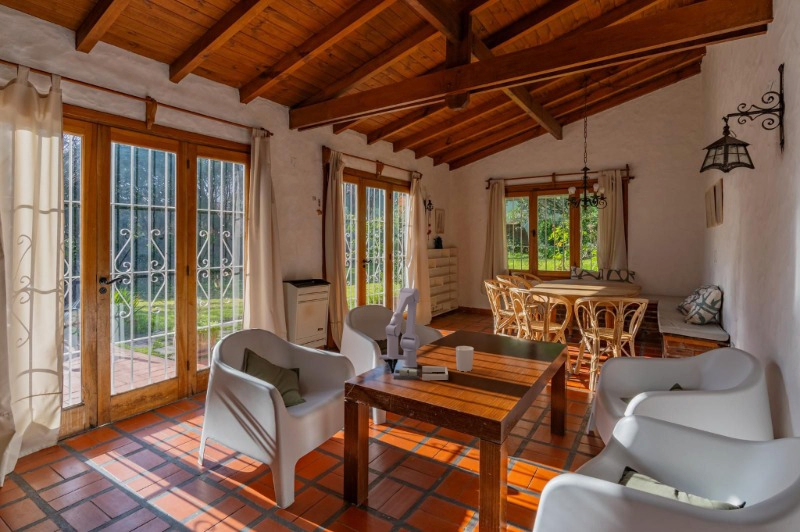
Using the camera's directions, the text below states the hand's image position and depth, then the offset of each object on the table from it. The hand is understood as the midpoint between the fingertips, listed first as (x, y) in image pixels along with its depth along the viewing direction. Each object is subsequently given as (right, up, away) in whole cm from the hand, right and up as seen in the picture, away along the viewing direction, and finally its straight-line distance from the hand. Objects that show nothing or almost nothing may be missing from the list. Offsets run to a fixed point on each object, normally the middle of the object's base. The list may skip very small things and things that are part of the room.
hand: (392, 373), depth 224 cm
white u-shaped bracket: (+22, -1, -1) cm, 22 cm away
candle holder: (+39, -1, +10) cm, 40 cm away
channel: (+8, -1, 0) cm, 8 cm away
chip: (+11, -2, -1) cm, 11 cm away
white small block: (+6, -1, 0) cm, 6 cm away
